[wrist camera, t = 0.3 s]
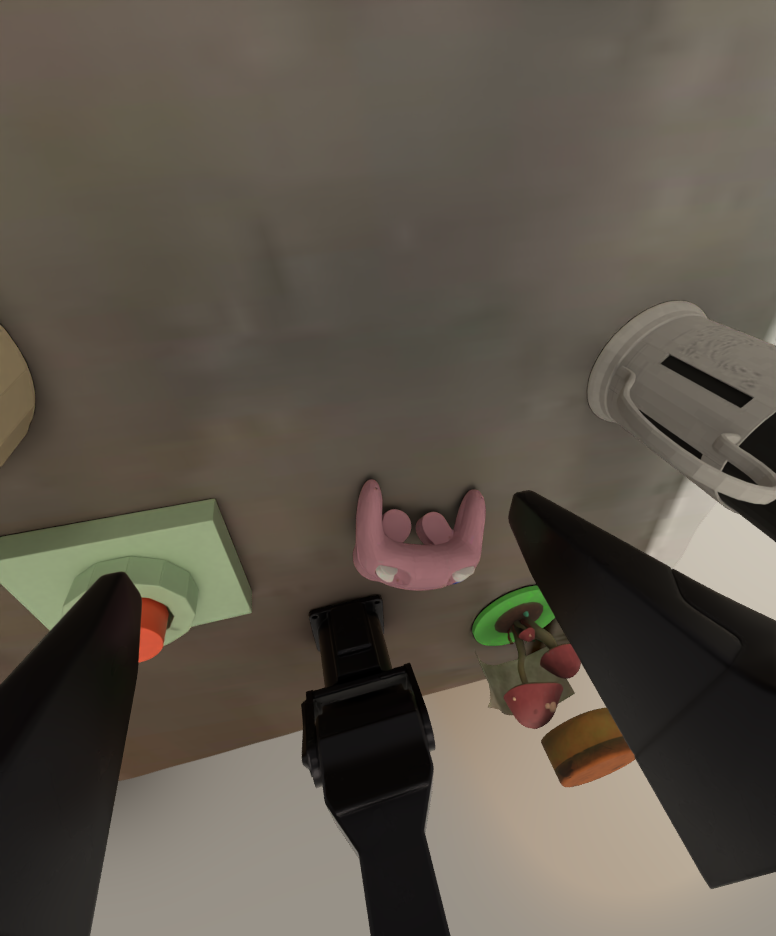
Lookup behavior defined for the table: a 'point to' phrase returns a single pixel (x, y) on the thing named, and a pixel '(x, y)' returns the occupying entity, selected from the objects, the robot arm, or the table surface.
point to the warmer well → (13, 396)
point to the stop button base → (132, 564)
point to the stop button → (152, 628)
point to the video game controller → (413, 564)
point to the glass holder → (696, 403)
